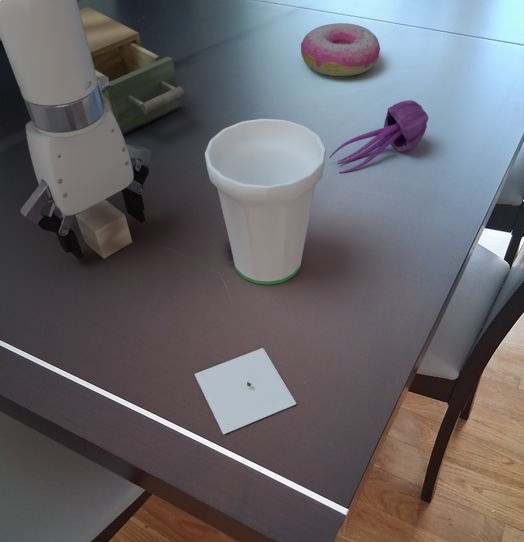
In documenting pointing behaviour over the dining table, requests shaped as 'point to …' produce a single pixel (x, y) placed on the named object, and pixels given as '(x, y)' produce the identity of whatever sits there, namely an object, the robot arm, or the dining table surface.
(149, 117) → the drawer
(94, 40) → the cabinet
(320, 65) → the donut
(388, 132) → the jellyfish
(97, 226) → the block
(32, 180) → the dining table surface
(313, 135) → the cup
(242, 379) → the coaster
